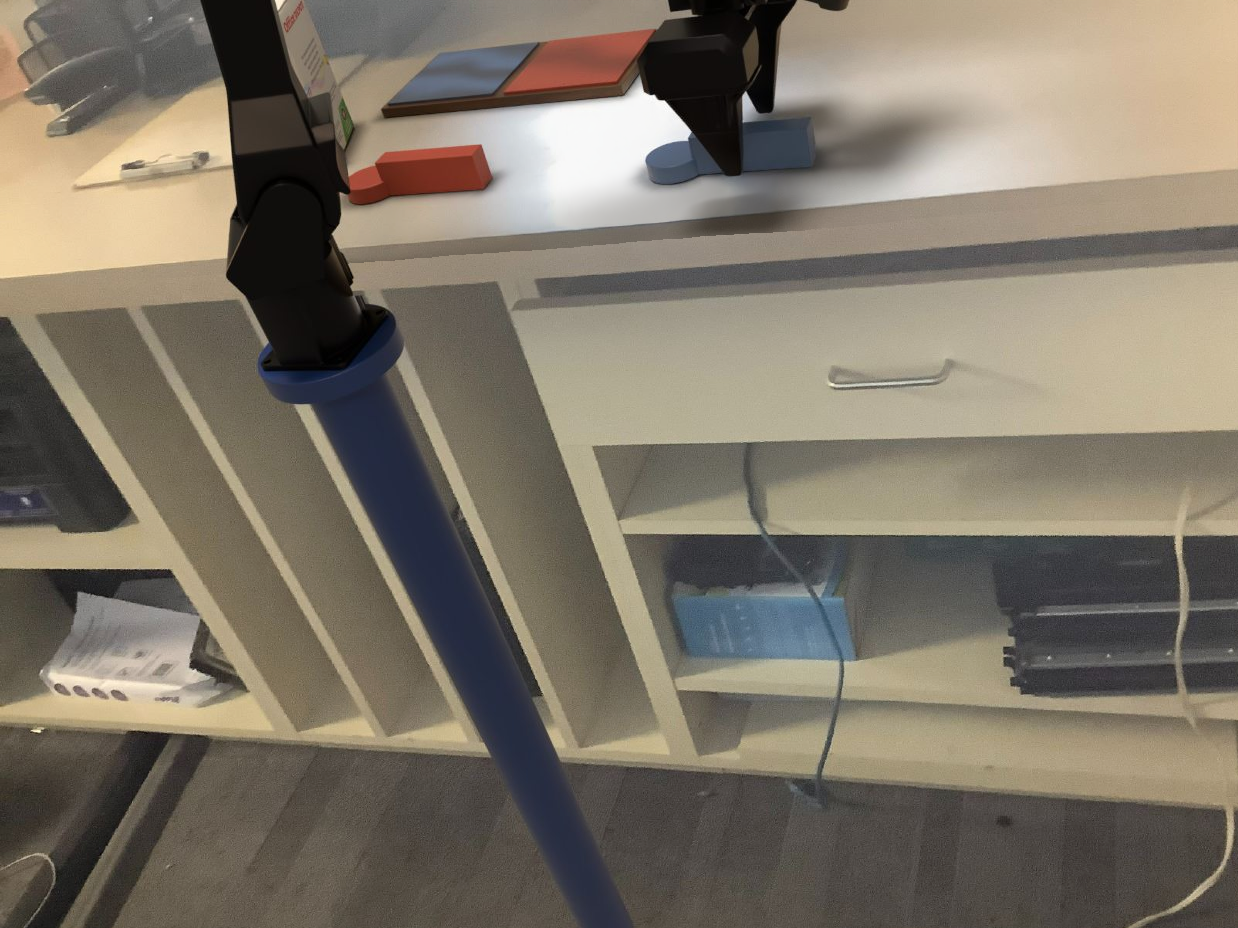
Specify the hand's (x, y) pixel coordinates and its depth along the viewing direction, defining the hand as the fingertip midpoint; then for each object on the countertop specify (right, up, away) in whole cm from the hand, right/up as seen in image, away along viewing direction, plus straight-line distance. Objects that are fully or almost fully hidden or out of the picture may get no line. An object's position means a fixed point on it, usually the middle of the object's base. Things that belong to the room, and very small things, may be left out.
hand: (750, 142), depth 75 cm
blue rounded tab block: (-1, -1, +2) cm, 2 cm away
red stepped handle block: (-24, 0, +9) cm, 26 cm away
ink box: (-34, +5, +19) cm, 40 cm away
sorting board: (-18, +13, +23) cm, 32 cm away
